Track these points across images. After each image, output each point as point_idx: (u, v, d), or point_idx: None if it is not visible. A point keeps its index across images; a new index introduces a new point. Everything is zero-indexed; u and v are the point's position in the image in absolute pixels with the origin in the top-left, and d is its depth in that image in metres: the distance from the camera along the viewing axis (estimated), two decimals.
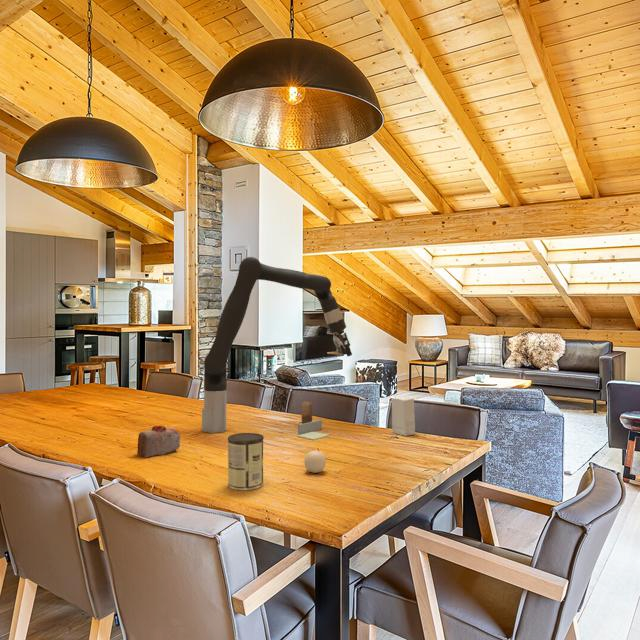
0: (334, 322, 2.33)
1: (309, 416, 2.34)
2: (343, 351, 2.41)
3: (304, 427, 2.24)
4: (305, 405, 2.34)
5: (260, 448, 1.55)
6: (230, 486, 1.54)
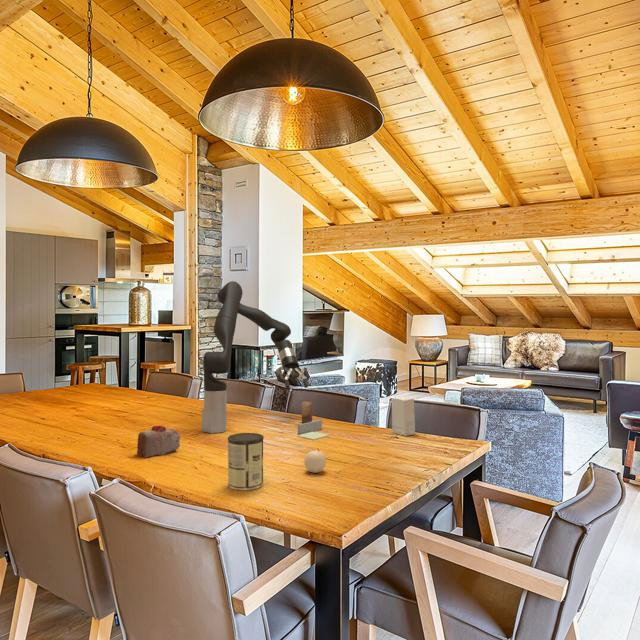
0: (281, 362, 2.55)
1: (309, 416, 2.34)
2: (304, 385, 2.49)
3: (304, 427, 2.24)
4: (305, 405, 2.34)
5: (260, 448, 1.55)
6: (230, 486, 1.54)
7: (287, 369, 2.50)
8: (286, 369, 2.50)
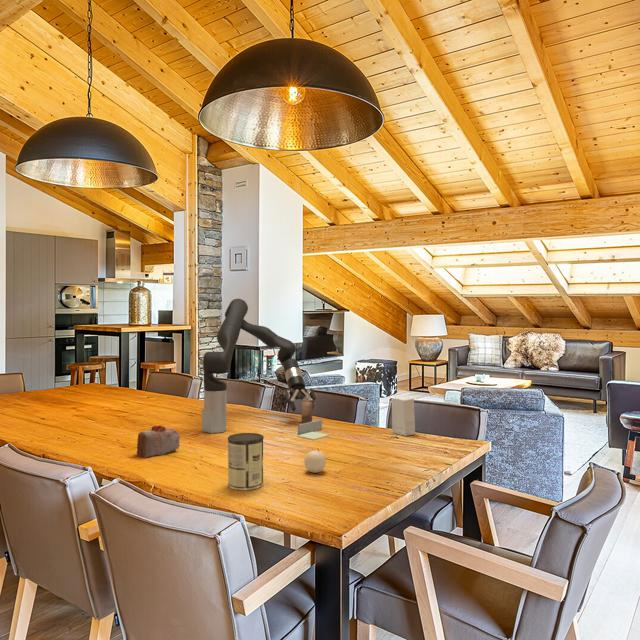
0: (287, 382, 2.48)
1: (309, 416, 2.34)
2: None
3: (304, 427, 2.24)
4: (305, 405, 2.34)
5: (260, 448, 1.55)
6: (230, 486, 1.54)
7: (293, 390, 2.43)
8: (292, 390, 2.43)
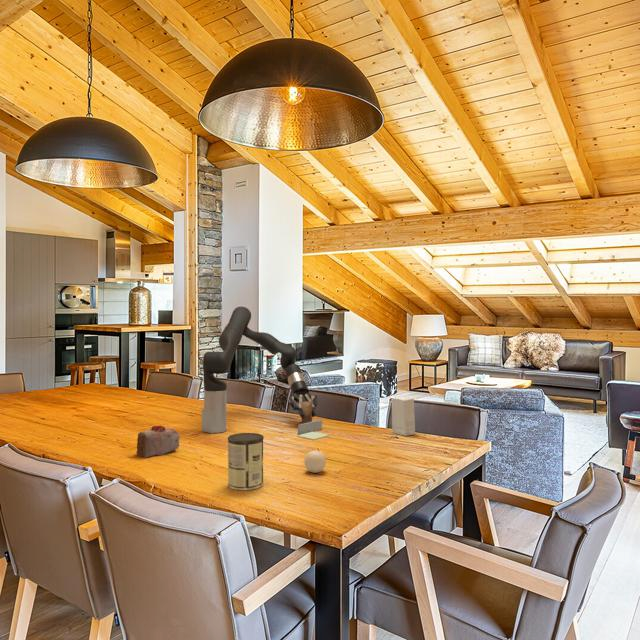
0: (290, 387, 2.44)
1: (309, 416, 2.34)
2: (312, 413, 2.37)
3: (304, 427, 2.24)
4: (305, 405, 2.34)
5: (260, 448, 1.55)
6: (230, 486, 1.54)
7: (296, 396, 2.39)
8: (296, 395, 2.39)
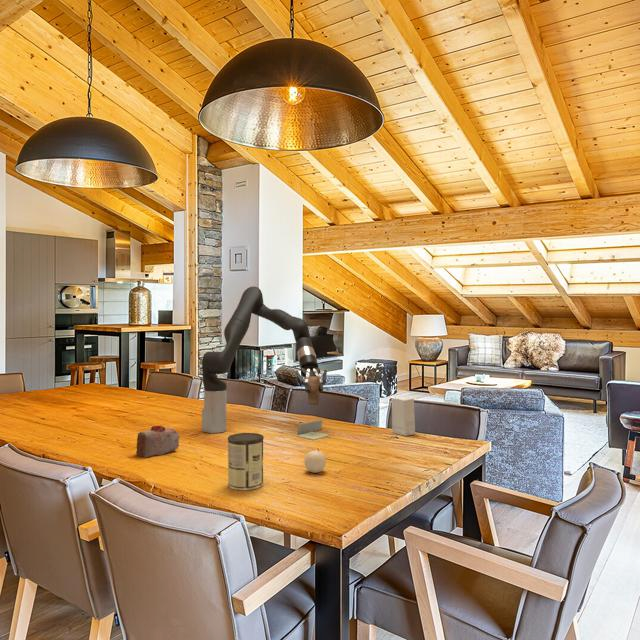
0: (299, 362, 2.30)
1: (315, 391, 2.19)
2: None
3: (304, 427, 2.24)
4: (311, 380, 2.18)
5: (260, 448, 1.55)
6: (230, 486, 1.54)
7: (304, 370, 2.24)
8: (303, 369, 2.24)
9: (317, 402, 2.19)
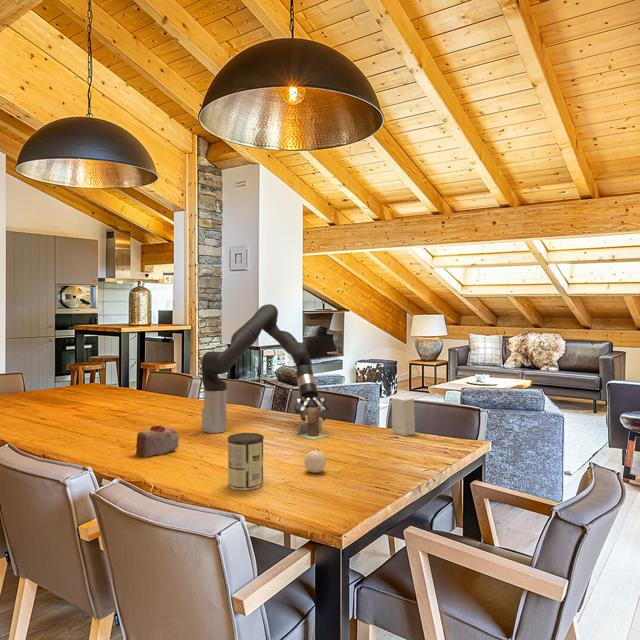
0: None
1: (314, 423, 2.17)
2: (322, 417, 2.20)
3: (304, 427, 2.24)
4: (311, 412, 2.17)
5: (260, 448, 1.55)
6: (230, 486, 1.54)
7: (303, 399, 2.23)
8: (303, 398, 2.23)
9: (316, 434, 2.18)
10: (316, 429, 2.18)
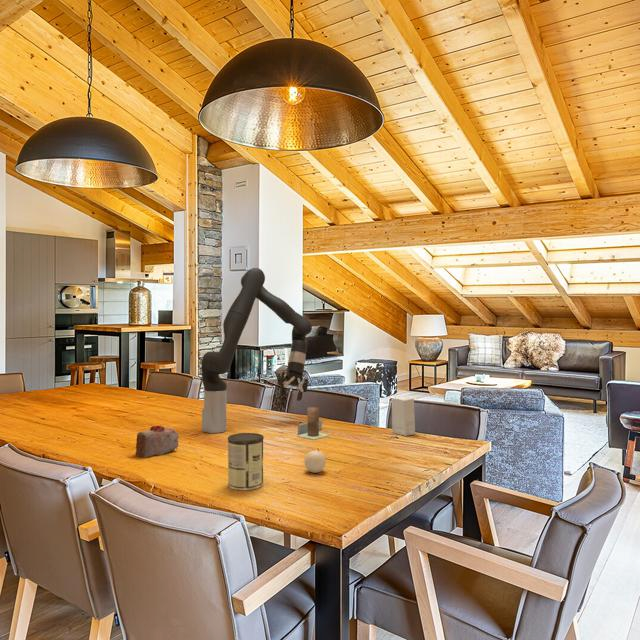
0: (288, 362, 2.44)
1: (314, 423, 2.17)
2: (297, 397, 2.43)
3: (304, 427, 2.24)
4: (310, 412, 2.17)
5: (260, 448, 1.55)
6: (230, 486, 1.54)
7: (289, 375, 2.40)
8: (289, 375, 2.40)
9: (316, 433, 2.18)
10: (316, 429, 2.18)
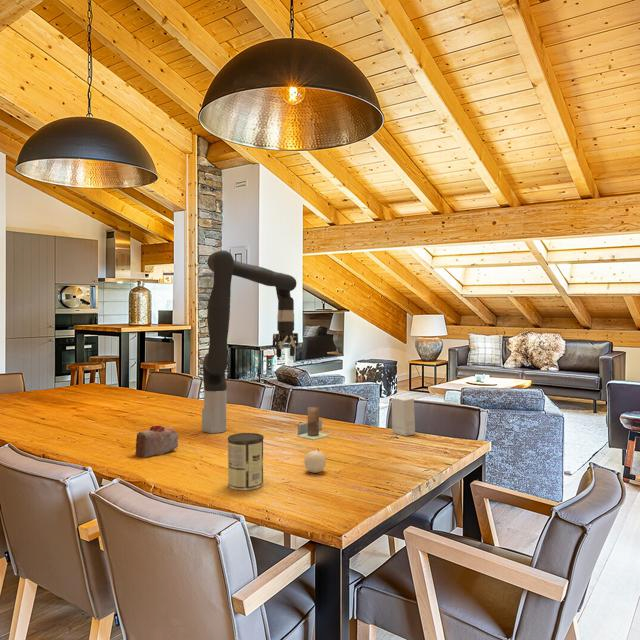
0: (278, 321, 2.41)
1: (314, 422, 2.17)
2: (290, 352, 2.46)
3: (304, 427, 2.24)
4: (311, 411, 2.18)
5: (260, 448, 1.55)
6: (230, 486, 1.54)
7: (283, 335, 2.40)
8: (282, 335, 2.40)
9: (316, 433, 2.18)
10: (316, 429, 2.18)
